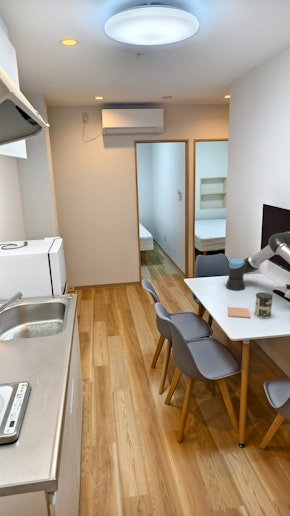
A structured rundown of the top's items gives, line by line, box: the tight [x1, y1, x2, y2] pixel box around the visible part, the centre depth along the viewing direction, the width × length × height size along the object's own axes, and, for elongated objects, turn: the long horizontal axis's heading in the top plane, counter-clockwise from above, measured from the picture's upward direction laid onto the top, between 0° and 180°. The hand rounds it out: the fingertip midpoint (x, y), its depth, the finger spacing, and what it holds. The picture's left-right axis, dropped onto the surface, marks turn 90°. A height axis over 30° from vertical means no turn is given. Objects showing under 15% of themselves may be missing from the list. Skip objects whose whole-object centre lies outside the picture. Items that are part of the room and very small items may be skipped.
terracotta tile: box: [227, 306, 251, 319], centre depth 231 cm, size 14×14×1 cm
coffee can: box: [254, 292, 273, 319], centre depth 226 cm, size 10×10×14 cm
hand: (280, 291), depth 226 cm, fingers open, 13 cm apart
